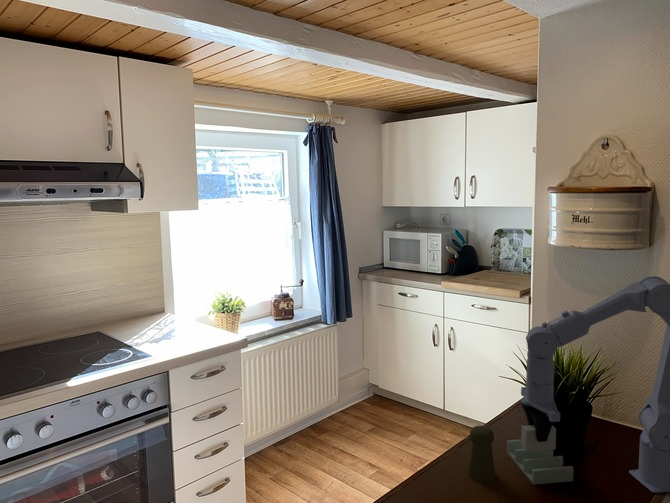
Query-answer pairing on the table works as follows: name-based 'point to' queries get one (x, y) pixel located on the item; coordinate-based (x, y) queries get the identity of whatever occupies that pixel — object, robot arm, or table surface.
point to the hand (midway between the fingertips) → (538, 437)
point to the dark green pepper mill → (481, 455)
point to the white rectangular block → (531, 442)
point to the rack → (539, 464)
